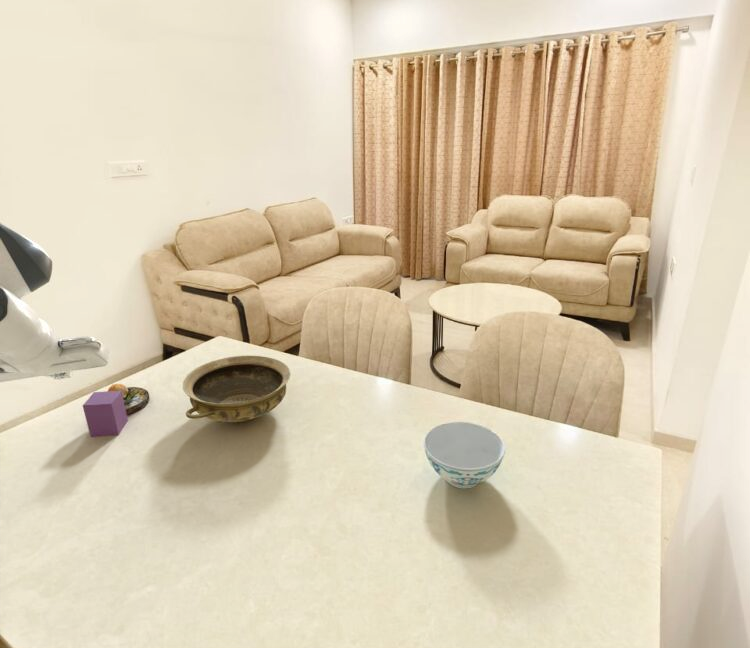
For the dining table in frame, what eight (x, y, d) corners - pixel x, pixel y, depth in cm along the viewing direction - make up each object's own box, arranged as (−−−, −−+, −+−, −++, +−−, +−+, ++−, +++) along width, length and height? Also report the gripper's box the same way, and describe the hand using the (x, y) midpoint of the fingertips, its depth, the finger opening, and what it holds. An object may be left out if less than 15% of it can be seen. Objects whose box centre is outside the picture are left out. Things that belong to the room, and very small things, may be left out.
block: (118, 435, 112) (111, 403, 109) (90, 437, 111) (82, 405, 108) (128, 420, 117) (121, 390, 114) (101, 422, 116) (93, 392, 114)
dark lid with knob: (159, 397, 127) (154, 370, 124) (123, 421, 117) (117, 393, 114) (123, 389, 131) (117, 364, 128) (85, 412, 121) (77, 385, 118)
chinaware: (411, 490, 93) (412, 456, 90) (437, 446, 106) (438, 415, 103) (491, 514, 87) (495, 477, 84) (508, 464, 100) (512, 431, 97)
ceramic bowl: (233, 463, 101) (227, 421, 98) (155, 431, 113) (147, 392, 109) (320, 398, 126) (318, 362, 122) (249, 376, 137) (245, 343, 133)
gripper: (94, 322, 92) (119, 352, 104) (-32, 339, 87) (9, 369, 100) (94, 353, 89) (120, 380, 101) (-36, 372, 85) (7, 399, 97)
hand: (64, 375), depth 100 cm, fingers closed
